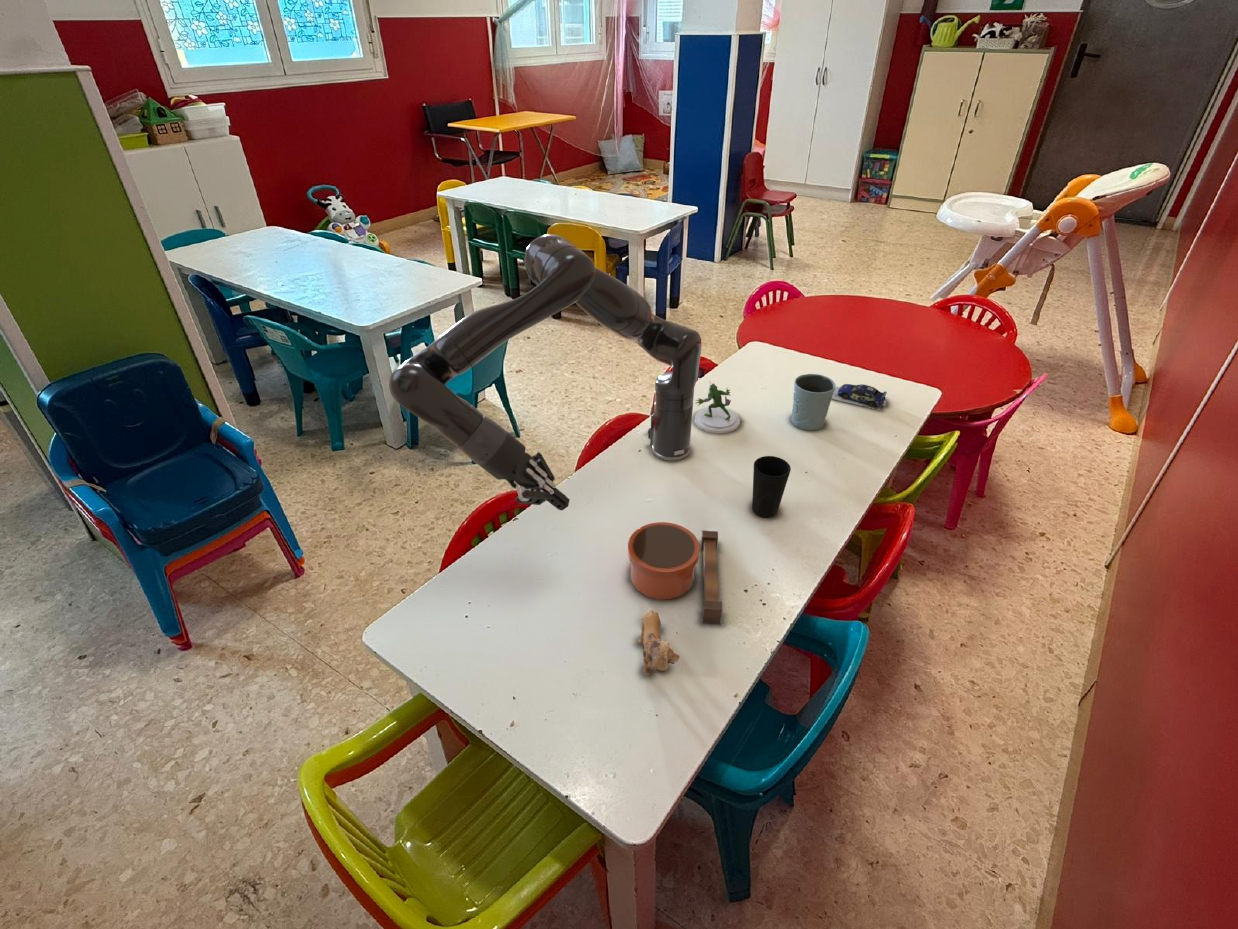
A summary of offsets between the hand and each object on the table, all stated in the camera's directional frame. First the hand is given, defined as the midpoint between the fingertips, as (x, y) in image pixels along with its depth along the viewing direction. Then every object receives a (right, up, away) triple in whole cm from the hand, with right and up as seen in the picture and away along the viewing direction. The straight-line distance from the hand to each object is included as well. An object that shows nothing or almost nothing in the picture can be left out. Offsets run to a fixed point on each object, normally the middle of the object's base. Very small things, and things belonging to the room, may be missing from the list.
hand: (566, 505), depth 115 cm
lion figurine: (+16, -26, -6) cm, 31 cm away
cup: (+42, -3, +26) cm, 49 cm away
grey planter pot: (+60, +19, +55) cm, 83 cm away
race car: (+77, +26, +64) cm, 104 cm away
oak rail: (+27, -15, +8) cm, 32 cm away
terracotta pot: (+18, -14, +9) cm, 25 cm away
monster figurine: (+36, +19, +55) cm, 69 cm away
